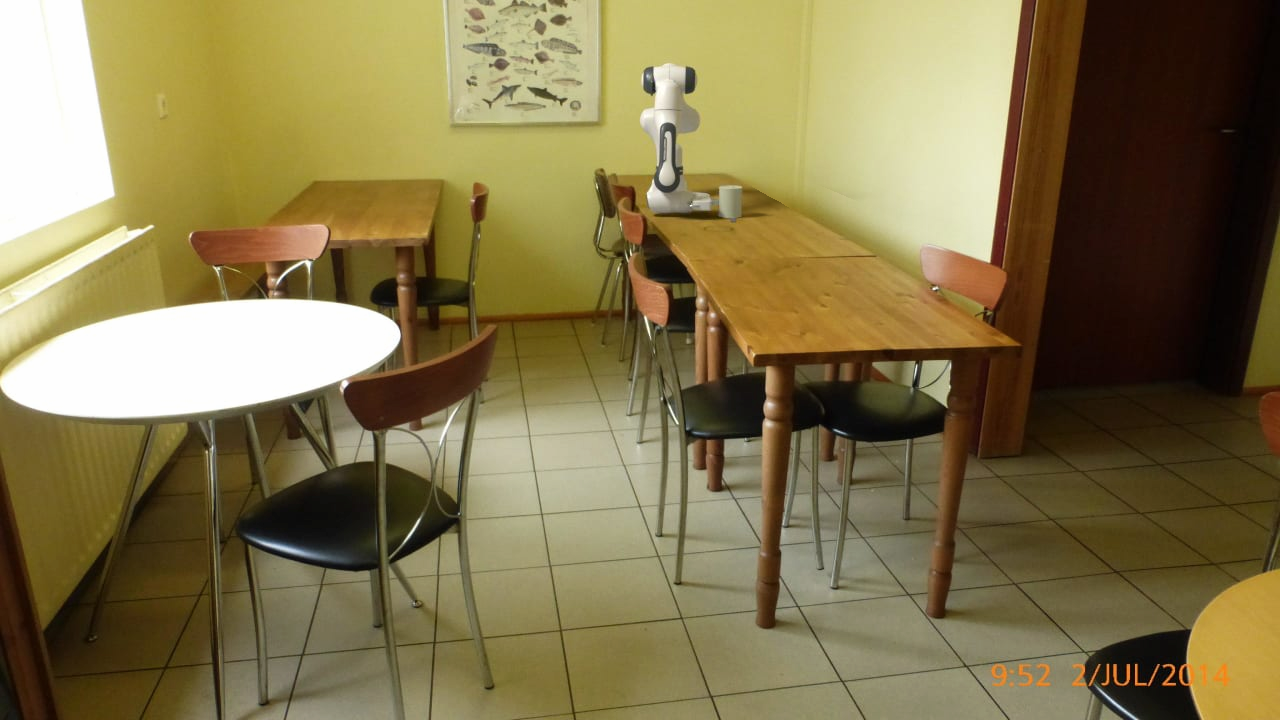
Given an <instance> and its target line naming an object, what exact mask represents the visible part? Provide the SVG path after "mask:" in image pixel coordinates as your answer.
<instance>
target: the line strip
mask: <svg viewBox="0 0 1280 720" xmlns="http://www.w3.org/2000/svg"><path fill="white" fill-rule="evenodd" d="M729 220H731V221H730V223H737V221H736V218H729Z"/></svg>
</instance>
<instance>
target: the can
mask: <svg viewBox="0 0 1280 720" xmlns="http://www.w3.org/2000/svg"><path fill="white" fill-rule="evenodd" d="M718 189H719V190H718V199H719V205H718V216H719V218H721V217H722V218H721V219H730V218H735V219H739V217H740V218H742V217H743V215H742V207H743V206H742V202H743V200H742V199H743V186H741V185H731V184H730V185H720V186H719V187H718Z"/></svg>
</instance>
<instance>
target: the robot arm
mask: <svg viewBox="0 0 1280 720" xmlns="http://www.w3.org/2000/svg"><path fill="white" fill-rule="evenodd" d="M640 82H641V86H642V89H643V91H644V92H645V93H646V94H649V95H650V97H653V96H654V95H655V97H654V98H655V99H654V103H653V105H654V106H653V107H650V108H645V109H644V110H643V111H642V112H641V113H640V115H639V116H640V117H639V124H640V127H641V129H642V130H643V132H645V133H646V134H647V135H648V136H649V137H650V138H651V140H652V141H653V143H654V146H655V151H656V153H655V154H656V166H655V173H654V176H653V179H652V181H651V185H650V187H649V189H648V191H647V192H646V193H645V198H646V206H647V209H648V210H649V211H651V212H652V213H655V214H656V213H658V214H670V213H676V214H677V213H678V214H692V211H712V208H713V206H719V198H715V197H713V198H712V197H711V194H709V193H706V192H694V191H692V190H688V188H687V179H686V178H685V177H684V166H683V148H682V147H681V145H680V144H679V143H677V139H678V136H679V134H682V135H683V134H689V133H693V132H696V131H697V130H698V128H699V126H700V123H701V116H700V114H699V112H698V110H697V109H696V108H694V107H692V106H690V105H689V103H687V102H686V100H685V96H684V94H685V95H690V94H693V93H694V92H695V91H696V87H697V86H698V75H697V73H696V70H695V69H694V68H693V67H691V66H687V65H686V66H682V65H678V64H676V63H674V62H667V63H664V64H662V65H661V66H648V67H645V69H644V70H643V72H642V74H641V78H640Z"/></svg>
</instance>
